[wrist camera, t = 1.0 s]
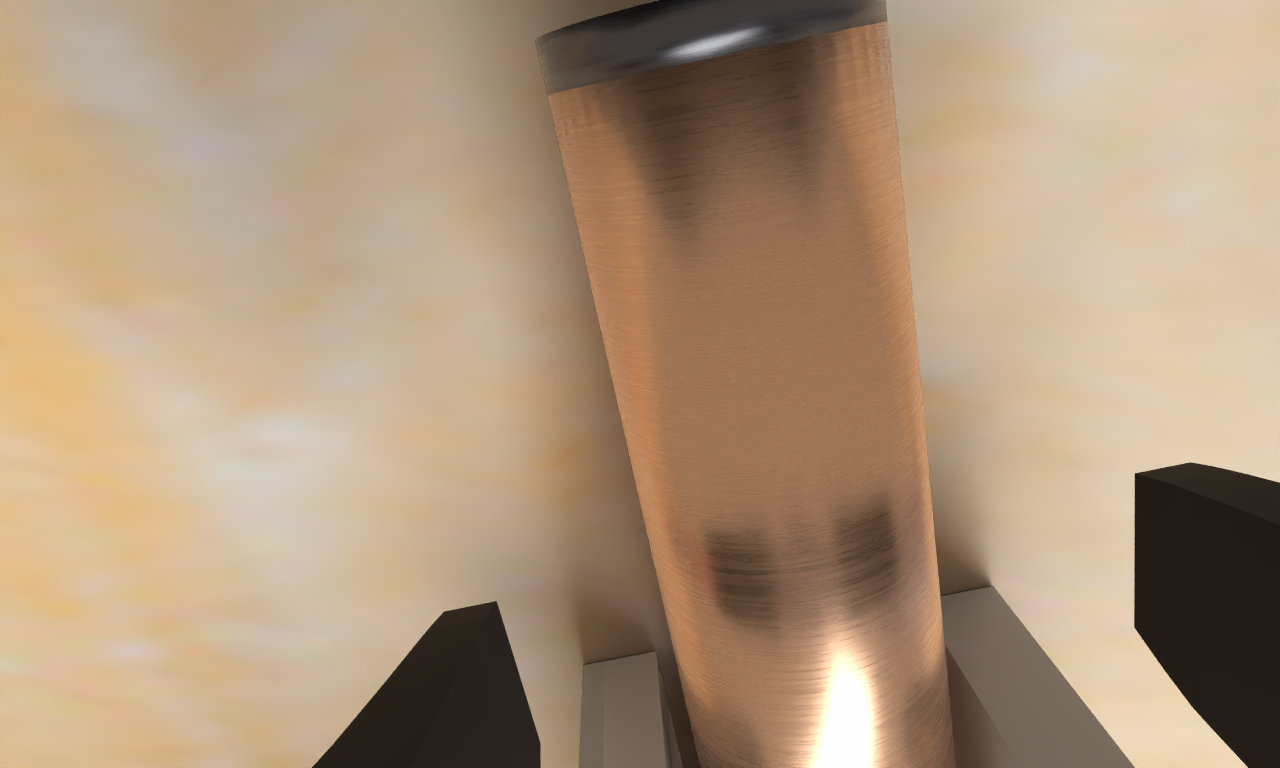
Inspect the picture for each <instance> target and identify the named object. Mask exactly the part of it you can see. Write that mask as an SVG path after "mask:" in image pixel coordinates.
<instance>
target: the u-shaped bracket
mask: <svg viewBox="0 0 1280 768" xmlns="http://www.w3.org/2000/svg"><path fill="white" fill-rule="evenodd" d="M940 598H941V609H942V620H943V631H944V641H945V652H946V663H947V674H948V685H949V696H950V707H951V717H952V728H953V739H954V750H955V761H956V768H1135V767H1134V766H1133V765H1132V763H1131V762H1130V761H1129V760H1128V758H1127V757H1126V756H1125V754H1124V753H1123V752H1122V751H1121V749H1120V748H1119V747H1118V745H1117V744H1116V743H1115V742H1114V740H1113V739H1112V738H1111V737H1110V735H1109V734H1108V733H1107V731H1106V730H1105V729H1104V728H1103V726H1102V725H1101V724H1100V722H1099V721H1098V720H1097V719H1096V717H1095V716H1094V715H1093V713H1092V712H1091V711H1090V710H1089V708H1088V707H1087V706H1086V704H1085V703H1084V702H1083V701H1082V699H1081V698H1080V697H1079V696H1078V694H1077V693H1076V692H1075V690H1074V689H1073V688H1072V687H1071V685H1070V684H1069V683H1068V681H1067V680H1066V679H1065V678H1064V676H1063V675H1062V674H1061V672H1060V671H1059V670H1058V669H1057V667H1056V666H1055V665H1054V664H1053V662H1052V661H1051V660H1050V658H1049V657H1048V656H1047V655H1046V653H1045V652H1044V651H1043V649H1042V648H1041V647H1040V646H1039V644H1038V643H1037V642H1036V640H1035V639H1034V638H1033V637H1032V635H1031V634H1030V633H1029V631H1028V630H1027V629H1026V628H1025V626H1024V625H1023V624H1022V623H1021V621H1020V620H1019V619H1018V617H1017V616H1016V615H1015V614H1014V612H1013V611H1012V610H1011V608H1010V607H1009V606H1008V605H1007V603H1006V602H1005V601H1004V599H1003V598H1002V597H1001V596H1000V594H999V593H998V592H997V590H996V589H995V588H994V587H993V586H991V587H985V588H980V589H975V590H970V591H965V592H960V593H954V594H949V595H944V596H940ZM579 768H683V764H682V760H681V756H680V752H679V748H678V743H677V739H676V735H675V731H674V726H673V722H672V718H671V714H670V709H669V705H668V701H667V697H666V692H665V688H664V684H663V680H662V676H661V671H660V667H659V663H658V659H657V654H656V651H655V652H649V653H644V654H639V655H634V656H629V657H624V658H618V659H613V660H608V661H603V662H598V663H593V664H587V665H583V681H582V706H581V730H580V755H579Z"/></svg>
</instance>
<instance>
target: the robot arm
mask: <svg viewBox="0 0 1280 768" xmlns="http://www.w3.org/2000/svg"><path fill="white" fill-rule="evenodd" d="M1134 627H1135V629H1136V630H1137V632H1138V633H1139V635H1140V636H1141V637H1142V639H1143V640H1144V642H1145V643H1146V645H1147V646H1148V647H1149V649H1150V650H1151V652H1152V653H1153V654H1154V656H1155V657H1156V659H1157V660H1158V662H1159V663H1160V664H1161V666H1162V667H1163V669H1164V670H1165V672H1166V673H1167V674H1168V675H1169V677H1170V678H1171V679H1172V681H1173V682H1174V683H1175V685H1176V686H1177V687H1178V689H1179V690H1180V691H1181V693H1182V694H1183V695H1184V697H1185V698H1186V699H1187V701H1188V702H1189V703H1190V705H1191V706H1192V707H1193V708H1194V709H1195V710H1196V712H1197V713H1198V714H1199V715H1200V716H1201V717H1202V718H1203V719H1204V720H1205V721H1206V723H1207V724H1208V725H1209V726H1210V727H1211V728H1212V729H1213V730H1214V731H1215V732H1216V733H1217V735H1218V736H1219V737H1220V738H1221V739H1222V740H1223V741H1224V742H1225V743H1226V744H1227V745H1228V746H1229V747H1230V749H1231V750H1232V751H1233V752H1234V753H1235V754H1236V755H1237V756H1238V757H1239V758H1240V759H1241V760H1242V761H1243V762H1244V764H1245V765H1246V766H1247V767H1248V768H1280V483H1279V482H1275V481H1271V480H1267V479H1263V478H1259V477H1255V476H1252V475H1248V474H1244V473H1239V472H1235V471H1231V470H1227V469H1222V468H1218V467H1213V466H1207V465H1202V464H1196V463H1185V464H1180V465H1175V466H1170V467H1165V468H1160V469H1155V470H1150V471H1145V472H1140V473H1135V609H1134ZM312 768H540V740H539V737H538V734H537V731H536V728H535V724H534V721H533V718H532V715H531V711H530V708H529V705H528V702H527V698H526V695H525V692H524V689H523V685H522V682H521V679H520V676H519V672H518V669H517V666H516V663H515V659H514V656H513V653H512V650H511V646H510V643H509V640H508V637H507V633H506V630H505V627H504V624H503V620H502V617H501V614H500V611H499V607H498V604H497V601H495V602H490V603H485V604H480V605H475V606H470V607H465V608H460V609H455V610H450V611H445V612H443V613H442V615H441V616H440V617H439V618H438V619H437V620H436V621H435V622H434V623H433V624H432V626H431V627H430V628H429V629H428V630H427V632H426V633H425V634H424V635H423V636H422V638H421V639H420V640H419V641H418V642H417V644H416V645H415V646H414V647H413V649H412V650H411V651H410V652H409V653H408V655H407V656H406V657H405V658H404V660H403V661H402V662H401V663H400V665H399V666H398V667H397V668H396V669H395V671H394V672H393V673H392V674H391V676H390V677H389V678H388V679H387V681H386V682H385V683H384V684H383V685H382V687H381V688H380V689H379V690H378V691H377V693H376V694H375V695H374V696H373V697H372V699H371V700H370V701H369V702H368V703H367V705H366V706H365V707H364V708H363V709H362V711H361V712H360V713H359V714H358V715H357V717H356V718H355V719H354V720H353V721H352V722H351V724H350V725H349V726H348V727H347V728H346V730H345V731H344V732H343V733H342V734H341V736H340V737H339V738H338V739H337V740H336V742H335V743H334V744H333V745H332V746H331V747H330V748H329V749H328V751H327V752H326V753H325V754H324V755H323V756H322V757H321V758H320V759H319V760H318V762H317V763H316V764H315V765H314V766H313V767H312Z"/></svg>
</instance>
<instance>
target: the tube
mask: <svg viewBox="0 0 1280 768" xmlns="http://www.w3.org/2000/svg"><path fill="white" fill-rule="evenodd" d="M535 42H536V47H537V51H538V56H539V60H540V64H541V69H542V73H543V78H544V82H545V86H546V91H547V95H548V100H549V104H550V108H551V113H552V117H553V122H554V126H555V130H556V135H557V139H558V144H559V148H560V152H561V157H562V161H563V166H564V170H565V174H566V179H567V183H568V188H569V192H570V196H571V201H572V205H573V210H574V214H575V218H576V223H577V227H578V232H579V236H580V240H581V245H582V249H583V254H584V258H585V262H586V267H587V271H588V276H589V280H590V284H591V289H592V293H593V298H594V302H595V306H596V311H597V315H598V320H599V324H600V328H601V333H602V337H603V342H604V346H605V350H606V355H607V359H608V364H609V368H610V372H611V377H612V381H613V386H614V390H615V394H616V399H617V403H618V408H619V412H620V416H621V421H622V425H623V430H624V434H625V438H626V443H627V447H628V452H629V456H630V460H631V465H632V469H633V474H634V478H635V482H636V487H637V491H638V496H639V500H640V504H641V509H642V513H643V518H644V522H645V526H646V531H647V535H648V540H649V544H650V549H651V553H652V557H653V562H654V566H655V571H656V575H657V579H658V584H659V588H660V593H661V597H662V601H663V606H664V610H665V615H666V619H667V623H668V628H669V632H670V637H671V641H672V645H673V650H674V654H675V659H676V663H677V667H678V672H679V676H680V681H681V685H682V689H683V694H684V698H685V703H686V707H687V711H688V716H689V720H690V725H691V729H692V733H693V738H694V742H695V747H696V751H697V755H698V760H699V764H700V768H956V761H955V750H954V739H953V728H952V717H951V707H950V696H949V685H948V674H947V663H946V652H945V641H944V631H943V620H942V609H941V598H940V587H939V576H938V565H937V555H936V544H935V533H934V522H933V511H932V500H931V489H930V479H929V468H928V457H927V446H926V435H925V424H924V414H923V403H922V392H921V381H920V370H919V359H918V348H917V338H916V327H915V316H914V305H913V294H912V283H911V272H910V262H909V251H908V240H907V229H906V218H905V207H904V196H903V186H902V175H901V164H900V153H899V142H898V131H897V120H896V110H895V99H894V88H893V77H892V66H891V55H890V44H889V34H888V23H887V12H886V1H885V0H659V1H655V2H651V3H647V4H643V5H639V6H635V7H632V8H628V9H624V10H620V11H617V12H613V13H610V14H606V15H602V16H599V17H595V18H592V19H589V20H585V21H582V22H579V23H576V24H573V25H569V26H566V27H563V28H561V29H558V30H555V31H552V32H550V33H547V34H545V35H543V36H541V37H539V38H537V39H536V40H535Z"/></svg>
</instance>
